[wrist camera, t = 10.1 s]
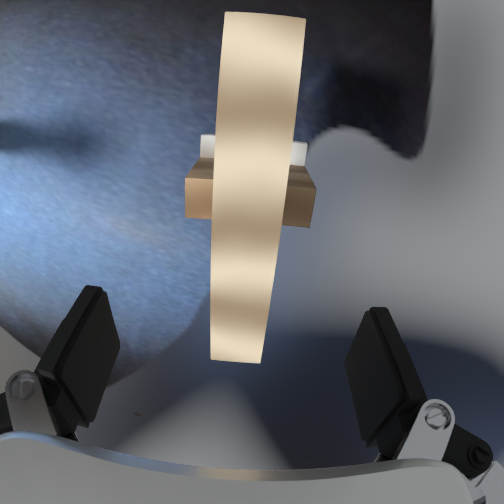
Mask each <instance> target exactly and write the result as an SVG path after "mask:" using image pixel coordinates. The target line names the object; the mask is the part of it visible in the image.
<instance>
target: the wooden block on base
mask: <svg viewBox="0 0 504 504" xmlns="http://www.w3.org/2000/svg"><path fill="white" fill-rule="evenodd" d="M307 145H308V144H307V143H306V142H299V141H293V142H292V150H291V158H290V166H289V174H288V181H287V189H286V196H285V204H284V211H283V218H282V225H286V226H297V227H307V228H309V227H310V222H311V217H312V212H313V206H314V200H315V195H316V187H315V185H314V183H313V181H312V179H311V178H310V176H309V174H308V172H307V170H306V168H305V159H306V152H307ZM214 153H215V134H202V135H201V150H200V158H199V160H198V161H197V162H196V164H195V165H194V166H193V168H192V169H191V171H190V172H189V173H188V175H187V176H186V177H185V217H186V218H200V219H212V199H213V174H214Z"/></svg>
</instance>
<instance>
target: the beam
mask: <svg viewBox="0 0 504 504" xmlns="http://www.w3.org/2000/svg"><path fill="white" fill-rule="evenodd" d="M305 24H306V19H303V18H296V17H289V16H281V15H271V14H260V13H245V12H225V19H224V30H223V40H222V51H221V63H220V75H219V88H218V102H217V118H216V134H215V153H214V174H213V199H212V232H211V307H210V308H211V309H210V310H211V314H210V315H211V316H210V317H211V318H210V320H211V359H212V360H222V361H234V362H248V363H260V361H261V355H262V349H263V343H264V337H265V331H266V324H267V319H268V312H269V306H270V299H271V293H272V285H273V280H274V273H275V267H276V260H277V253H278V246H279V239H280V232H281V225H282V218H283V211H284V204H285V196H286V189H287V181H288V174H289V166H290V158H291V150H292V142H293V134H294V126H295V118H296V109H297V100H298V91H299V83H300V73H301V64H302V54H303V45H304V34H305Z"/></svg>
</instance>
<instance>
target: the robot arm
mask: <svg viewBox="0 0 504 504" xmlns="http://www.w3.org/2000/svg"><path fill="white" fill-rule="evenodd" d="M119 349H120V341H119V337H118V334H117V330H116V327H115V323H114V320H113V316H112V312H111V308H110V305H109V301H108V297H107V293H106V292H105V291H103V289H102V288H101V287H98V286H90V285H87V286H85V287H84V289H83V290H82V292H81V293H80V295H79V297H78V298H77V300H76V301H75V303H74V304H73V306H72V308H71V309H70V311H69V313H68V314H67V316H66V318H64V320H63V321H62V322H61V324H60V326H59V327H58V329H57V331H56V333H55V334H54V336H53V338H52V340H51V341H50V343H49V345H48V347H47V349H46V350H45V352H44V354H43V356H42V358H41V360H40V361H39V363H38V365H37V367H36V369H35V371H34V372H31V371H29V370H21V371H18V372H16V373H14V374H13V375H12V376H11V377H10V378H9V379H8V381H7V382H6V386H5V392H4V393H1V394H0V504H504V468H503V467H502V466H501V465H500V464H499V463H498V462H497V461H496V462H493V461H492V460H493V454H492V450H491V448H490V446H489V445H488V444H487V443H486V442H485V441H483V440H482V439H479V438H478V437H476V436H475V435H473V434H471V433H469V432H468V431H466V430H464V429H463V428H461V427H459V426H458V425H456V424H454V422H455V417H454V413H453V411H452V409H451V407H450V406H449V405H448V404H446V403H445V402H443V401H441V400H438V399H437V400H436V399H432V400H427V397H426V394H425V392H424V389H423V387H422V384H421V382H420V379H419V377H418V374H417V372H416V369H415V367H414V364H413V362H412V359H411V357H410V355H409V352H408V350H407V348H406V346H405V344H404V343H403V341H402V339H401V337H400V334H399V332H398V330H397V328H396V326H395V323H394V321H393V319H392V317H391V315H390V312H389V310H388V309H387V308H386V307H371V308H370V310H369V311H366V312H365V314H364V316H363V319H362V321H361V324H360V326H359V329H358V331H357V333H356V336H355V338H354V340H353V343H352V345H351V347H350V349H349V352H348V354H347V356H346V358H345V368H346V373H347V377H348V381H349V385H350V389H351V394H352V398H353V403H354V407H355V411H356V416H357V421H358V425H359V430H360V434H361V439H362V440H363V441H366V446H367V447H374V446H378V449H379V452H380V453H379V455H378V457H377V458H376V460H375V462H374V463H368V464H362V465H352V466H343V467H334V468H321V469H306V470H236V469H220V468H210V467H199V466H191V465H183V464H176V463H169V462H163V461H157V460H151V459H146V458H141V457H136V456H131V455H127V454H122V453H118V452H114V451H110V450H106V449H102V448H98V447H94V446H90V445H87V444H83V443H80V442H79V440H78V438H77V436H76V434H75V430H76V427H77V425H79V426H83V427H86V428H88V426H89V423H90V422H93V421H94V419H95V417H96V414H97V411H98V408H99V405H100V402H101V399H102V396H103V393H104V390H105V387H106V385H107V382H108V379H109V376H110V374H111V371H112V368H113V365H114V363H115V360H116V358H117V355H118V352H119Z"/></svg>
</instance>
